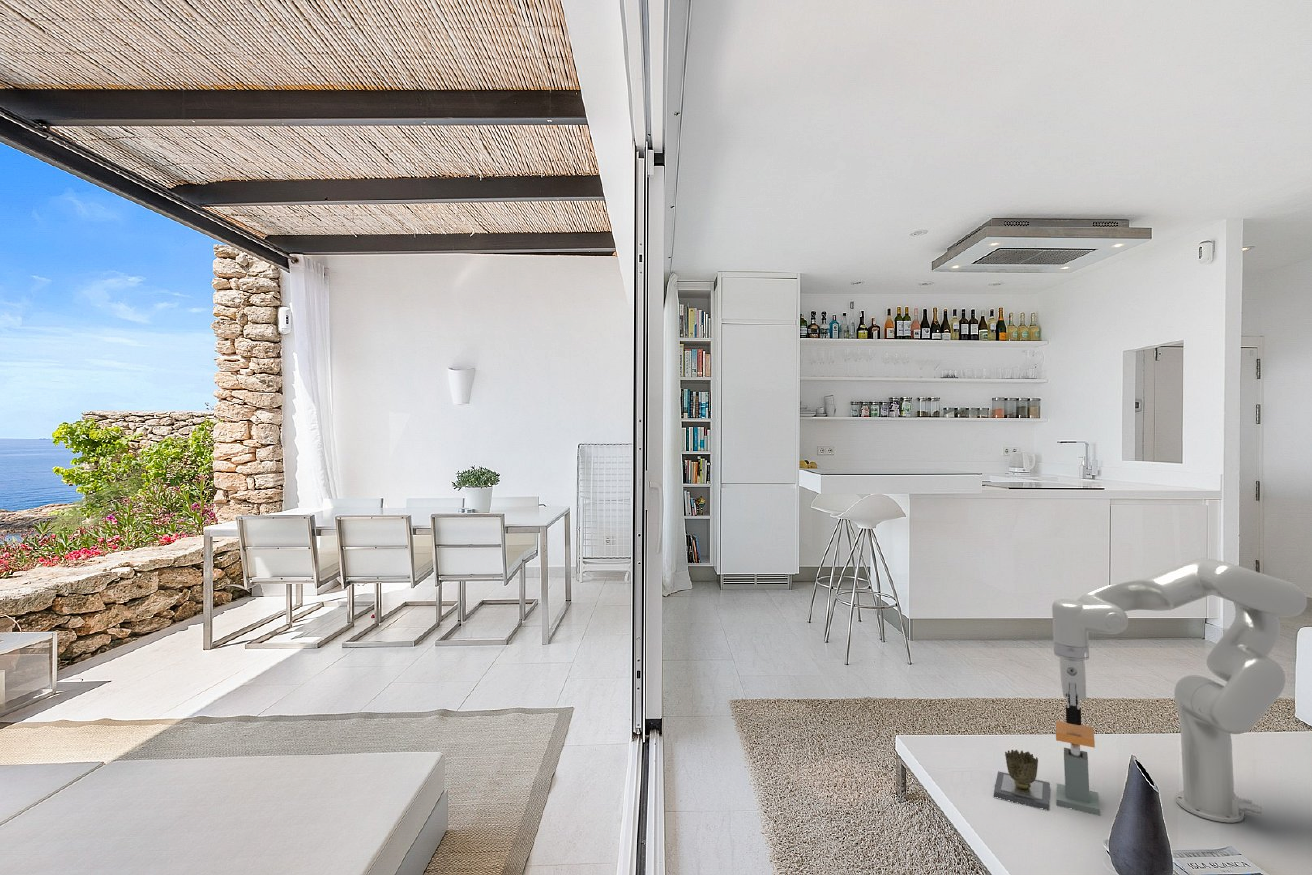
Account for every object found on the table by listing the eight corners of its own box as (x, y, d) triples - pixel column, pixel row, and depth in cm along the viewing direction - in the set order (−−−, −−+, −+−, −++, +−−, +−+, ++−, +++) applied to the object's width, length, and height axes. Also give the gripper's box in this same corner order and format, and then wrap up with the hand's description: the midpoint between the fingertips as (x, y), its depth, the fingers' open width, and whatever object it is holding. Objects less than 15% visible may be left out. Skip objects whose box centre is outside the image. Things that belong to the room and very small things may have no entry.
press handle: (1095, 774, 162) (1093, 726, 162) (1096, 789, 155) (1094, 739, 155) (1058, 767, 166) (1056, 720, 166) (1057, 780, 159) (1055, 732, 160)
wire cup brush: (1045, 794, 161) (1044, 762, 161) (1016, 794, 161) (1014, 762, 162) (1028, 779, 169) (1027, 748, 169) (1000, 779, 169) (999, 749, 169)
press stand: (1098, 798, 162) (1096, 750, 162) (1100, 815, 154) (1098, 765, 155) (1056, 788, 167) (1054, 742, 167) (1056, 805, 159) (1054, 756, 159)
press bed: (1050, 788, 167) (1049, 781, 167) (1049, 810, 157) (1048, 803, 157) (998, 776, 174) (998, 770, 174) (994, 797, 163) (993, 790, 164)
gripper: (1089, 660, 153) (1092, 738, 153) (1088, 644, 166) (1090, 715, 165) (1053, 656, 157) (1055, 731, 157) (1054, 640, 170) (1056, 709, 169)
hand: (1073, 723), depth 161 cm, fingers closed
